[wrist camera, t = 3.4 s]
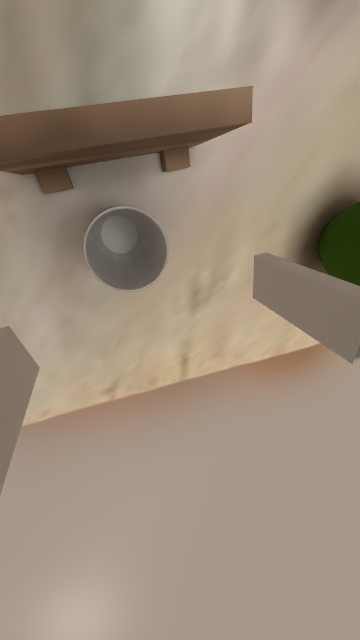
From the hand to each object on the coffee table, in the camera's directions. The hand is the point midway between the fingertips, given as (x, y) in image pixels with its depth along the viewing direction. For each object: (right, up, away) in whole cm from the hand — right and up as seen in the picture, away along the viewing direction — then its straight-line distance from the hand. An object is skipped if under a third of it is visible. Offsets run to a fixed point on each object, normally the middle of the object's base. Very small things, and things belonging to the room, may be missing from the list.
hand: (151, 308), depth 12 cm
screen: (-6, +19, +13) cm, 23 cm away
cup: (-7, +11, +17) cm, 22 cm away
